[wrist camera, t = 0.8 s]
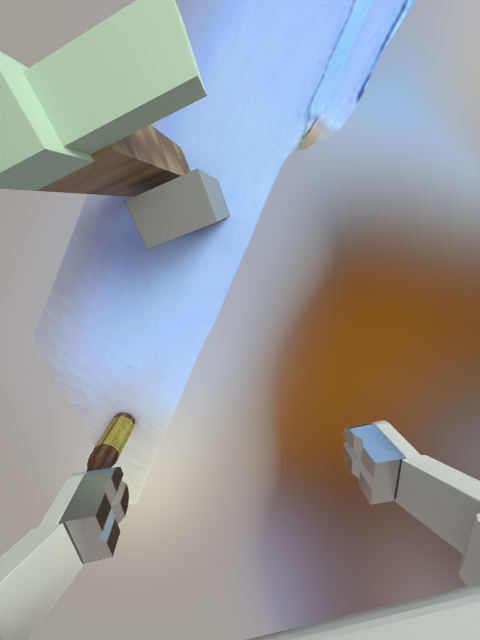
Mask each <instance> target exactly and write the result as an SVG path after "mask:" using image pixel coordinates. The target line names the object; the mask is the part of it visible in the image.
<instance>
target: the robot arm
mask: <svg viewBox="0 0 480 640" xmlns="http://www.w3.org/2000/svg"><path fill="white" fill-rule="evenodd" d="M344 437H345V438H346V440H347V441H346V442H345V443H344V445H343V454H344V458H345V461H346V464H347V466H348V468H349V470H350V471H351V473H352V474H354V475H355V476H357V477H358V478H359V486H360V488H361V489H362V491H363V493H364V494H365V496H366V497H367V499H368V501H369V502H370V504H377V503H382V502H389V501H394V500H396V501H395V502H396V503H398V504H399V505H400V506H401V507H403V508H404V509H405V510H407V511H408V512H409V513H410V514H412V515H413V516H414V517H416V518H417V519H418V520H420V521H421V522H422V523H423V524H425V525H426V526H427V527H429V528H430V529H431V530H433V531H434V532H435V533H437V534H438V535H439V536H440V537H442V538H443V539H444V540H445V541H447V542H448V543H449V544H451V545H452V546H453V547H455V548H456V549H457V550H458V551H460V552H461V553H463V554H464V555H463V558H462V562H461V565H460V568H459V576H460V577H461V578H462V580H463V581H464V582H465V584H466V585H467V587H463V588H459V589H455V590H450V591H446V592H442V593H438V594H434V595H430V596H426V597H422V598H417V599H413V600H409V601H405V602H401V603H397V604H393V605H388V606H384V607H380V608H376V609H372V610H368V611H363V612H359V613H355V614H351V615H347V616H343V617H338V618H335V619H331V620H326V621H322V622H318V623H314V624H310V625H305V626H301V627H297V628H293V629H289V630H285V631H281V632H276V633H273V634H268V635H264V636H260V637H256V638H251V639H247V640H480V481H478V480H476V479H474V478H472V477H470V476H468V475H466V474H464V473H462V472H460V471H457V470H455V469H453V468H451V467H449V466H447V465H445V464H443V463H441V462H439V461H437V460H435V459H433V458H430V457H428V456H426V455H423V456H421V455H420V454H419V453H418V452H417V451H416V450H415V449H414V448H413V447H412V446H411V445H410V444H409V443H408V442H407V441H406V440H405V439H404V438H403V437H402V436H401V435H400V434H399V433H398V432H397V431H396V430H395V429H394V428H393V427H392V426H391V425H390V424H389V423H388V422H386V421H384V420H383V421H378V422H372V423H367V424H361V425H356V426H350V427H346V428H345V430H344ZM122 477H123V472H122V470H121V467H114V468H107V469H100V470H93V471H88V472H82V473H75V474H72V475H71V476H70V477H68V479H67V480H66V482H65V484H64V485H63V487H62V489H61V490H60V492H59V494H58V495H57V497H56V499H55V500H54V502H53V504H52V505H51V507H50V509H49V510H48V512H47V514H46V515H45V517H44V519H43V520H42V522H41V524H40V525H39V527H38V528H35V529H32V530H31V531H30V532H29V533H27V534H26V535H25V536H24V537H23V538H22V539H21V540H20V541H18V542H17V543H16V544H15V545H14V546H13V547H12V548H11V549H9V550H8V551H7V552H6V553H5V554H4V555H3V556H1V557H0V640H28V639H29V638H30V637H31V635H32V634H33V633H34V631H35V630H36V629H37V627H38V626H39V625H40V623H41V622H42V621H43V619H44V618H45V617H46V615H47V614H48V612H49V611H50V610H51V608H52V607H53V606H54V604H55V603H56V602H57V600H58V599H59V598H60V596H61V595H62V594H63V592H64V591H65V590H66V588H67V587H68V586H69V584H70V583H71V582H72V580H73V579H74V577H75V576H76V575H77V573H78V572H79V571H80V569H81V568H82V567H83V564H84V563H88V562H92V561H97V560H101V559H105V558H109V557H113V554H114V551H115V547H116V544H117V541H118V538H119V534H120V529H119V527H118V524H119V523H120V521H121V520H122V519H123V518H124V517H125V515H126V511H127V508H128V500H129V492H128V487H127V484H126V483H124V482H123V481H121V480H122Z"/></svg>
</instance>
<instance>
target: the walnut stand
mask: <svg viewBox="0 0 480 640" xmlns="http://www.w3.org/2000/svg"><path fill="white" fill-rule="evenodd" d="M91 156H92V158H93V160H94V162H93V163H91V164H89V165H87V166H85V167H83V168H81V169H79V170H77V171H75V172H73V173H71V174H69V175H67V176H65V177H63V178H61V179H59V180H57V181H55V182H53V183H51V184H49V185H47V186H45V187H43V188H40V189H38V190H36V191H49V192H65V193H82V194H83V193H84V194H99V195H116V196H133V197H135V196H137V195H139V194H142V193H144V192H146V191H148V190H151V189H153V188H155V187H157V186H160V185H162V184H164V183H166V182H169V181H171V180H173V179H175V178H178V177H180V176H182V175H184V174H187V173H189V172H190V170H189V167H188V165H187V162H186V159H185V157H184V154H183V151H182V149H181V147H179V146H178V145H177V144H175V143H174V142H173V141H171V140H170V139H169V138H167V137H166V136H165V135H163V134H162V133H161V132H159V131H158V130H157V129H155V128H154V127H153V126H151V125H148V126H146V127H144V128H142V129H140V130H138V131H136V132H134V133H132V134H130V135H128V136H126V137H124V138H122V139H121V140H119V141H117V142H115V143H113V144H111V145H109V146H107V147H105V148H103V149H101V150H99V151H97V152H95V153H93V154H91Z"/></svg>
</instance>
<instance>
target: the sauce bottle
mask: <svg viewBox="0 0 480 640" xmlns="http://www.w3.org/2000/svg"><path fill="white" fill-rule="evenodd" d="M134 424H135V420H134V418H133V417H132V416H131V415H129V414H126V413H119V414H117V415H116V416H115V417H114V418H113V419H112V421H111V422H110V424H109V426H108V427H107V429H106V430H105V432H104V434H103V435H102V437H101V438H100V440H99V442H98V443H97V445H96V446H95V448H94V450H93V452H92V454H91V455H90V457H89V460H88V463H87V466H88V468H87V471H86V472H88V471H93V470H100V469H107V468H111V467H112V466H113V465H114V464H115V463H116V461H117V460H118V457H119V456H120V454H121V452H122V450H123V448H124V446H125V444H126V442H127V440H128V438H129V436H130V434H131V432H132V430H133V428H134Z"/></svg>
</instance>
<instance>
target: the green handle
mask: <svg viewBox="0 0 480 640" xmlns="http://www.w3.org/2000/svg"><path fill="white" fill-rule="evenodd" d="M205 96H207V94H206V91H205V88H204V85H203V82H202V79H201V76H200V73H199V69H198V66H197V63H196V60H195V57H194V54H193V51H192V48H191V44H190V41H189V38H188V35H187V32H186V29H185V26H184V23H183V20H182V17H181V15H180V12H179V10H178V7H177V5H176V2H175V0H136V1H134V2H133V3H131V4H129V5H128V6H126V7H125V8H123V9H121V10H120V11H118V12H117V13H115V14H114V15H112V16H111V17H109V18H107V19H106V20H104V21H103V22H101V23H99V24H98V25H96V26H95V27H93V28H92V29H90V30H88V31H87V32H85V33H83V34H82V35H80V36H79V37H77V38H76V39H74V40H72V41H71V42H69V43H68V44H66V45H65V46H63V47H61V48H60V49H58V50H57V51H55V52H53V53H52V54H50V55H49V56H47V57H46V58H44V59H43V60H41V61H39V62H38V63H36V64H34V65H33V66H31V67H30V68H27V67H25V66H24V65H22V64H20V63H19V62H17V61H15V60H14V59H12V58H10V57H9V56H7V55H5V54H4V53H2V52H0V189H15V190H33V191H36V190H38V189H40V188H43V187H45V186H47V185H49V184H51V183H53V182H55V181H57V180H59V179H61V178H63V177H65V176H67V175H69V174H71V173H73V172H75V171H77V170H79V169H81V168H83V167H85V166H87V165H89V164H91V163H93V162H94V160H93V158H92V156H91V154H93V153H95V152H97V151H99V150H101V149H103V148H105V147H107V146H109V145H111V144H113V143H115V142H117V141H119V140H121V139H122V138H124V137H126V136H128V135H130V134H132V133H134V132H136V131H138V130H140V129H142V128H144V127H146V126H148V125H150V124H152V123H154V122H156V121H158V120H160V119H162V118H164V117H166V116H168V115H170V114H172V113H174V112H176V111H178V110H180V109H182V108H184V107H186V106H188V105H190V104H192V103H193V102H195V101H197V100H199V99H201V98H203V97H205Z"/></svg>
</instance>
